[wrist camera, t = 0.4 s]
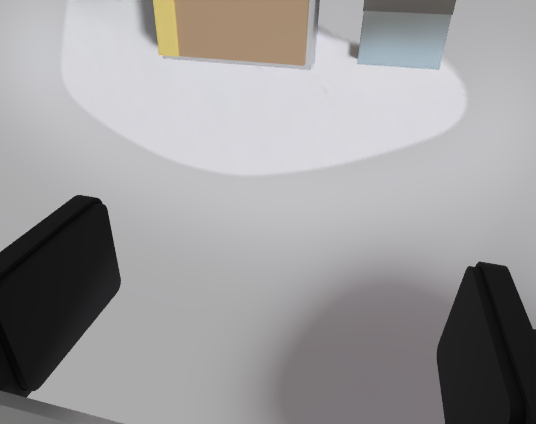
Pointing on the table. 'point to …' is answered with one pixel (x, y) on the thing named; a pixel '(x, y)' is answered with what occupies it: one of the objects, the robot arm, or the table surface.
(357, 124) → the table surface
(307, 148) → the table surface
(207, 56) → the dock
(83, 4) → the table surface
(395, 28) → the banded blue box
